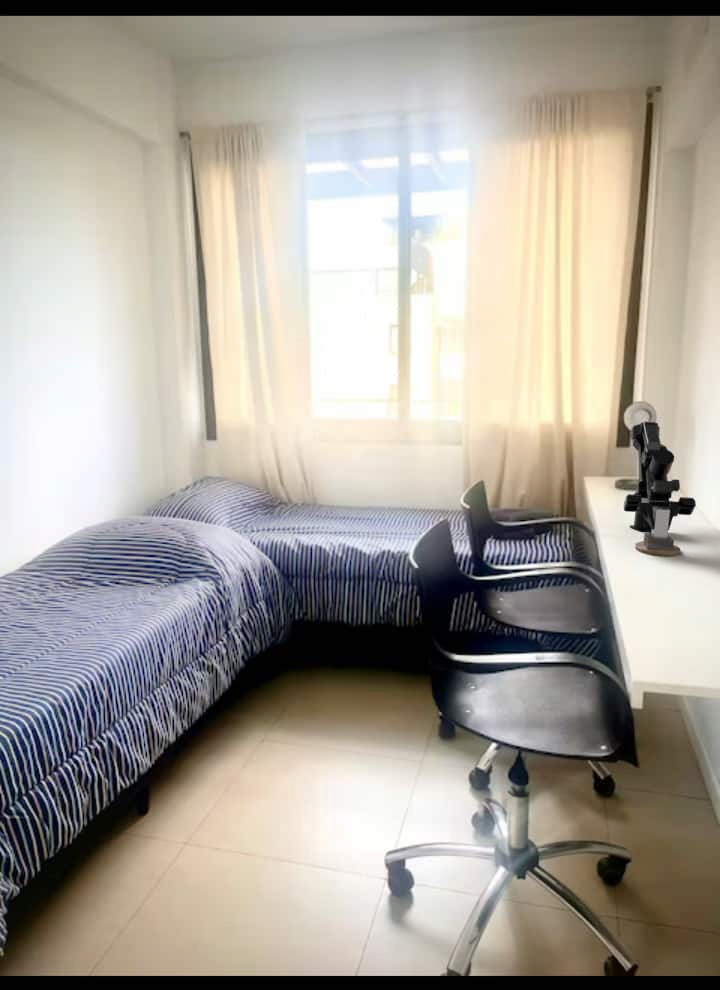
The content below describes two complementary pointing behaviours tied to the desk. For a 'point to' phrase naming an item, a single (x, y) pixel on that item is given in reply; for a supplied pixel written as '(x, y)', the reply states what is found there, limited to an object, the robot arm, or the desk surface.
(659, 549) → the stand base
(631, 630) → the desk surface
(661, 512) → the post
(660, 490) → the robot arm
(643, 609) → the desk surface
